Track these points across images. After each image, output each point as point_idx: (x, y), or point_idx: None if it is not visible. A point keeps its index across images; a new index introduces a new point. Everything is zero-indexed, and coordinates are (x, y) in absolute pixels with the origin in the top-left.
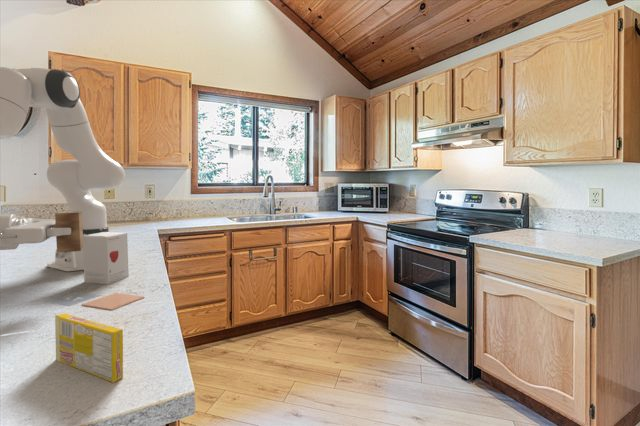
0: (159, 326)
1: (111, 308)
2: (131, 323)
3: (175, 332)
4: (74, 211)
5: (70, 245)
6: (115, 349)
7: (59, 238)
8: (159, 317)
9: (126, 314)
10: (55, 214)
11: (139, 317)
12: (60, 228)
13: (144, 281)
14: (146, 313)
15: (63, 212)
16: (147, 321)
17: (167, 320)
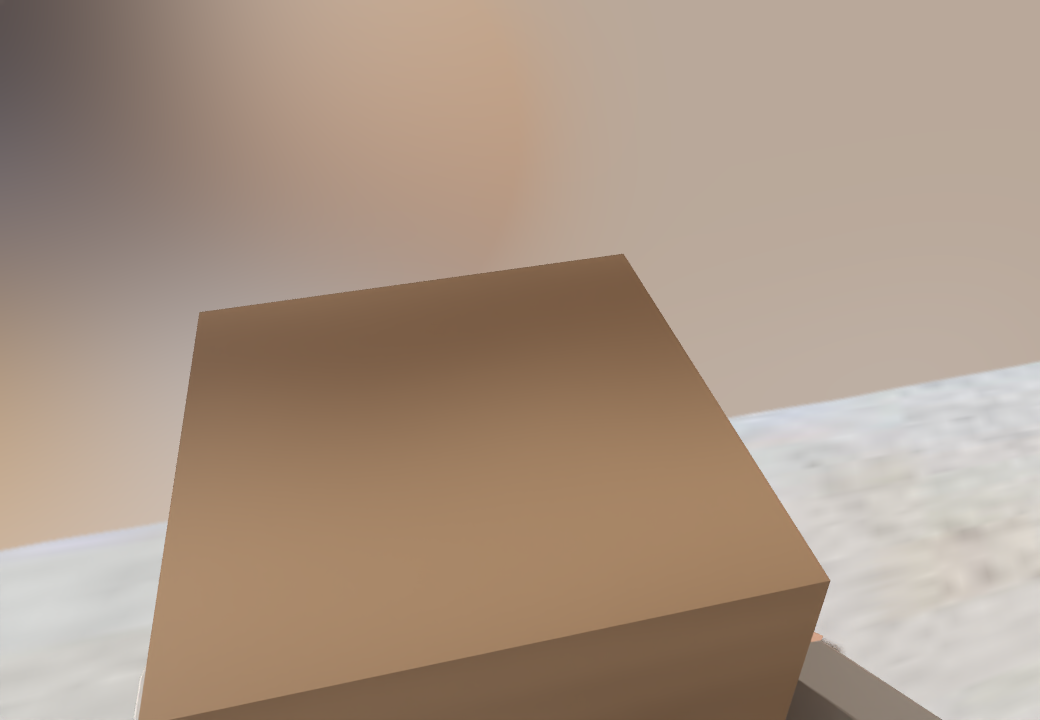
0: (981, 416)
1: (812, 641)
2: (974, 513)
3: (1024, 367)
4: (208, 400)
5: None
6: None
7: None
8: (878, 432)
9: (856, 562)
10: (817, 596)
11: (891, 500)
12: (844, 664)
13: (152, 623)
14: (832, 485)
15: (523, 495)
16: (935, 462)
17: (909, 403)
